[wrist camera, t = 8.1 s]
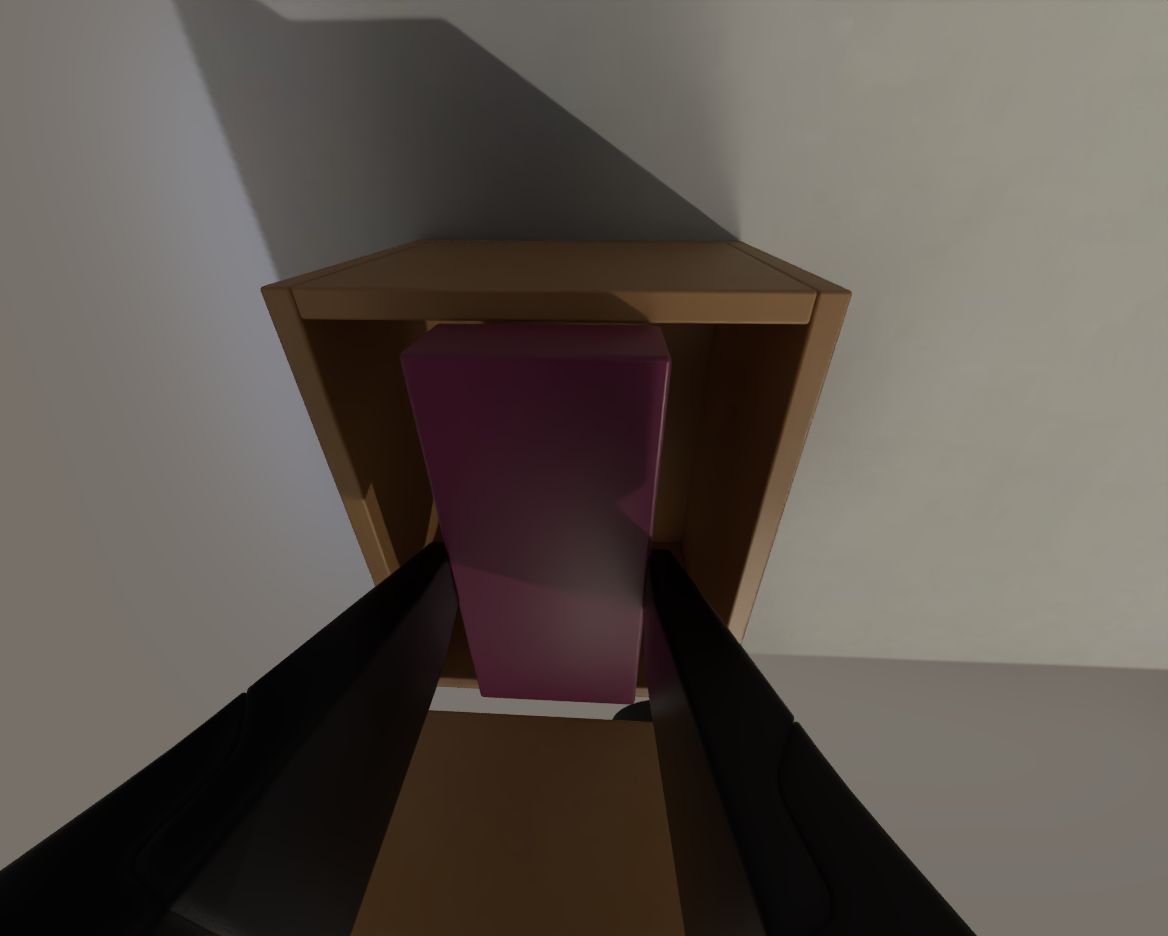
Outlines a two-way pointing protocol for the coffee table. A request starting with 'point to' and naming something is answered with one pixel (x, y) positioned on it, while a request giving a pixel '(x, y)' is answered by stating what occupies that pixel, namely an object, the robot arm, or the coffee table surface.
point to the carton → (576, 297)
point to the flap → (526, 833)
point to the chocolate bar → (545, 495)
